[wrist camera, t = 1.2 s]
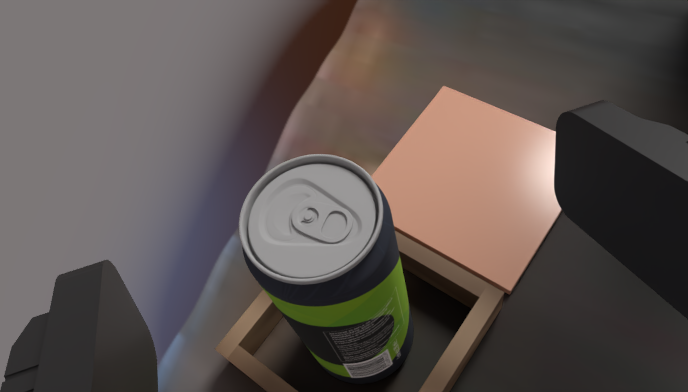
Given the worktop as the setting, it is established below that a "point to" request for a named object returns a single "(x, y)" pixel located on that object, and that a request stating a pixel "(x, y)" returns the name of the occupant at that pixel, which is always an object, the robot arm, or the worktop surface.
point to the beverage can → (331, 264)
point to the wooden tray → (419, 263)
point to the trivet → (473, 186)
